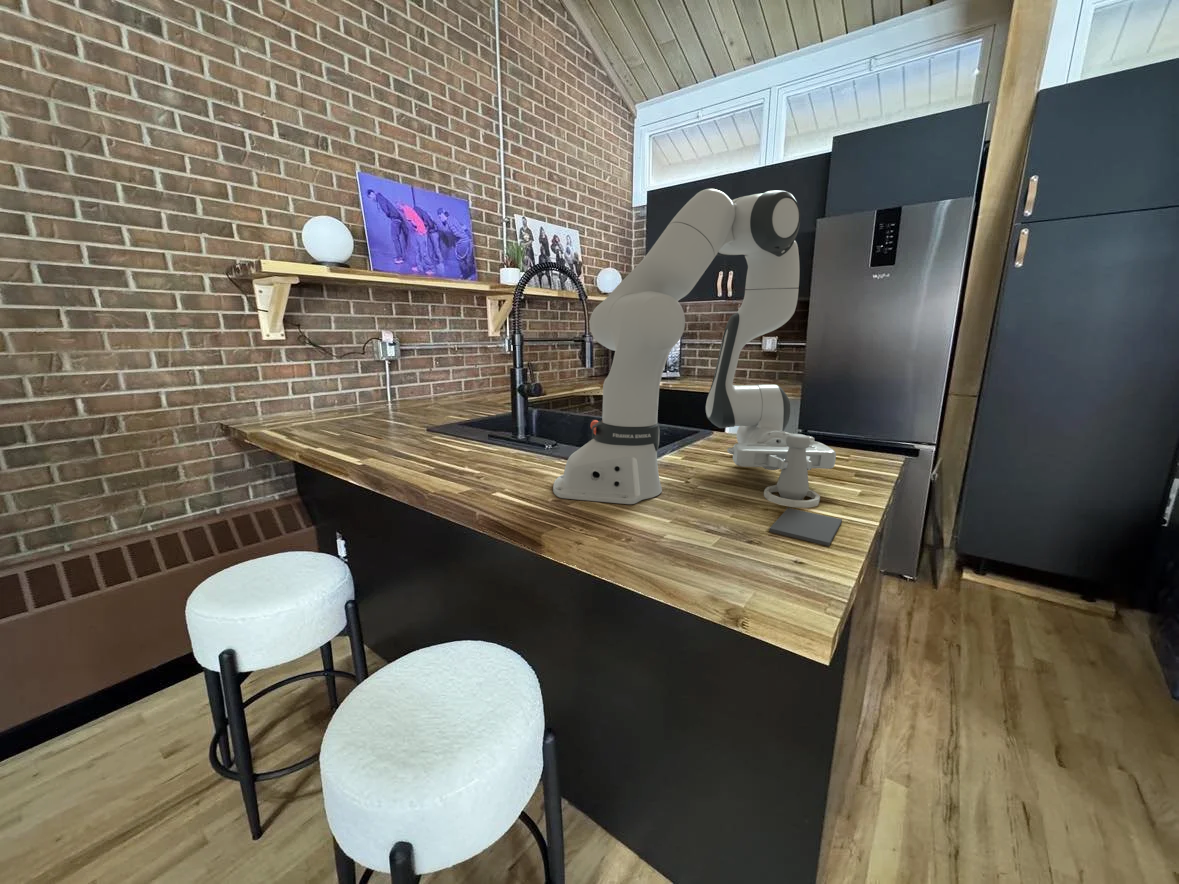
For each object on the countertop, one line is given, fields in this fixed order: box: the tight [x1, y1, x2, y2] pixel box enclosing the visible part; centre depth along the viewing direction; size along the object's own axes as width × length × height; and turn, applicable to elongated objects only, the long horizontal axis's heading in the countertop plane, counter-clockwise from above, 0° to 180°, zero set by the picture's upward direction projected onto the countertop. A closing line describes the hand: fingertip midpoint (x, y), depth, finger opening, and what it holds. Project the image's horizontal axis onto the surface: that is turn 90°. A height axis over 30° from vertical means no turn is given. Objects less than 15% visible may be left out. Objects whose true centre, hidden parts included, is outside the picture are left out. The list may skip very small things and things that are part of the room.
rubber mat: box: [768, 507, 843, 547], centre depth 80 cm, size 12×9×1 cm
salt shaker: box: [776, 433, 810, 500], centre depth 93 cm, size 6×6×13 cm
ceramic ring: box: [763, 484, 821, 509], centre depth 94 cm, size 10×10×1 cm
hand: (796, 465), depth 92 cm, fingers closed on salt shaker, 3 cm apart
